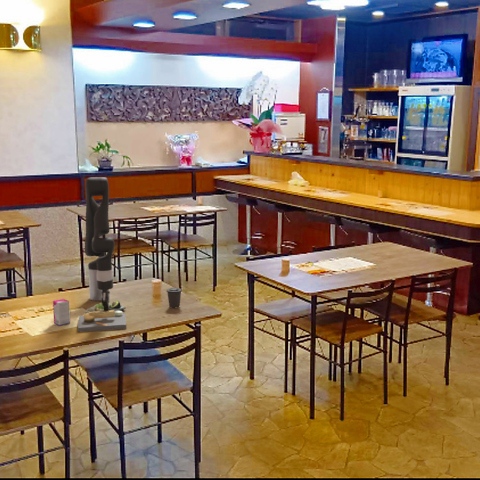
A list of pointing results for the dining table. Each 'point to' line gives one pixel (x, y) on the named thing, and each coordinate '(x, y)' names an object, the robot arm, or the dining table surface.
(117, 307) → the salad plate
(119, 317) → the base
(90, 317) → the tan elongated block
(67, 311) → the supplement box
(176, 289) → the coffee cup
